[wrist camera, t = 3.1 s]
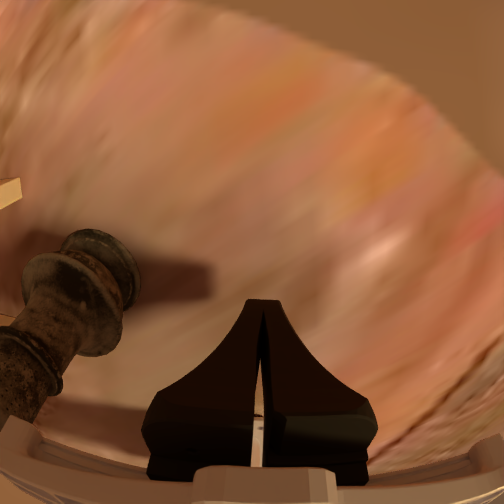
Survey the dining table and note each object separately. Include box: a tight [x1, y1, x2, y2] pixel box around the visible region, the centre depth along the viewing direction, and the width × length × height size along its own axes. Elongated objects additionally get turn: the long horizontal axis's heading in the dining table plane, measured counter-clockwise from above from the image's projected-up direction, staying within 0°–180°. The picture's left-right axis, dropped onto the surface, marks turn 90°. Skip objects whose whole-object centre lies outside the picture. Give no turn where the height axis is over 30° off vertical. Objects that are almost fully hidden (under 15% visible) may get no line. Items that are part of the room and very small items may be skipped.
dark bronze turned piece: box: [0, 229, 141, 432], centre depth 10 cm, size 6×6×12 cm
